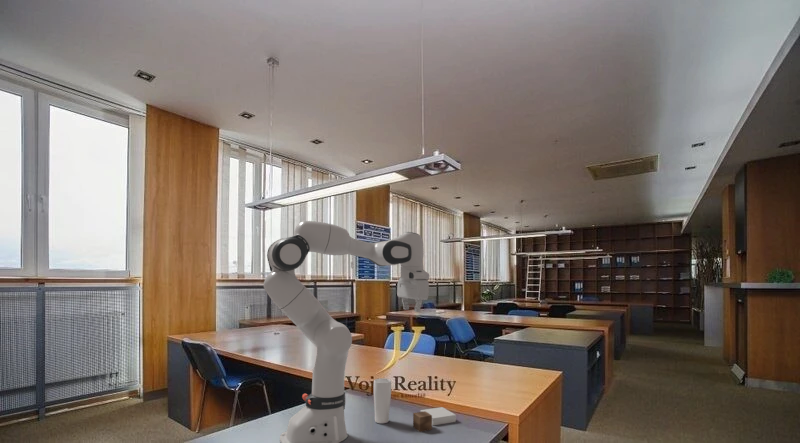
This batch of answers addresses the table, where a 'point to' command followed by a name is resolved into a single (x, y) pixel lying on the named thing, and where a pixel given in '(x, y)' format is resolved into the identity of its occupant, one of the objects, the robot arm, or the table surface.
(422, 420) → the walnut cube
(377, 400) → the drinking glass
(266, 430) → the table surface
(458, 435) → the table surface
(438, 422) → the grey tile
